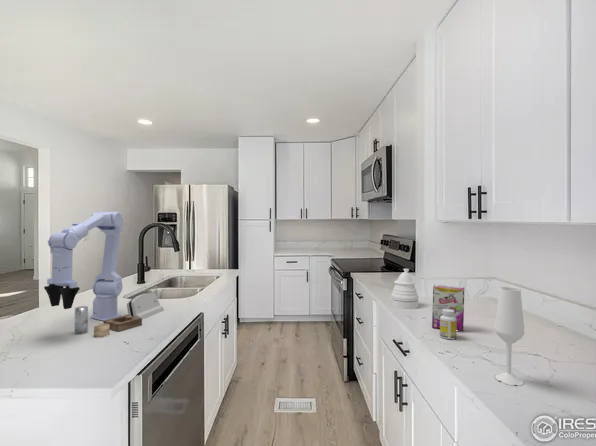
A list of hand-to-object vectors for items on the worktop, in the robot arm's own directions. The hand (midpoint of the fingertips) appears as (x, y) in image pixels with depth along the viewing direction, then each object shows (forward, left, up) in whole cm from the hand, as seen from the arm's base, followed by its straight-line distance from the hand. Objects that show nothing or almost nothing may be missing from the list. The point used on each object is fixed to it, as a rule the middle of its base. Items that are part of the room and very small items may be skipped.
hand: (61, 307), depth 116 cm
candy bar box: (+115, +81, -11) cm, 141 cm away
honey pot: (+93, +109, -11) cm, 144 cm away
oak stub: (+9, +9, -11) cm, 16 cm away
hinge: (-1, +34, -11) cm, 36 cm away
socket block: (+6, +19, -11) cm, 22 cm away
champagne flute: (+133, +42, -11) cm, 140 cm away
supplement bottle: (+116, +70, -11) cm, 136 cm away
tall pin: (0, +7, -11) cm, 13 cm away
